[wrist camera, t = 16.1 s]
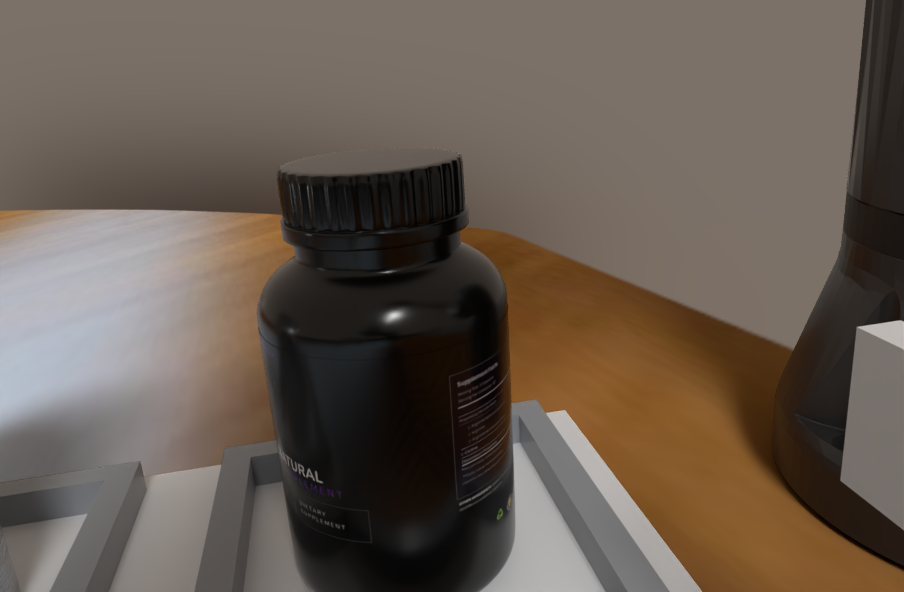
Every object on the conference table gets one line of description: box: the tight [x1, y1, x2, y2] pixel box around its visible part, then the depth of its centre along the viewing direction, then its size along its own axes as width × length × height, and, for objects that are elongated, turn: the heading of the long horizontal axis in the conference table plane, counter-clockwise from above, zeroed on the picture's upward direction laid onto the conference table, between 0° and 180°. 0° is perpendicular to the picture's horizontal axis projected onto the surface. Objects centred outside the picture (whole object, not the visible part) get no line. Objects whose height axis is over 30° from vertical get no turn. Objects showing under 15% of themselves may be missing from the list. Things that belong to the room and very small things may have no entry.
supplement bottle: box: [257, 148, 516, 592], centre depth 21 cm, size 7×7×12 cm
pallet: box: [0, 400, 702, 592], centre depth 21 cm, size 30×14×2 cm, turn 101°
